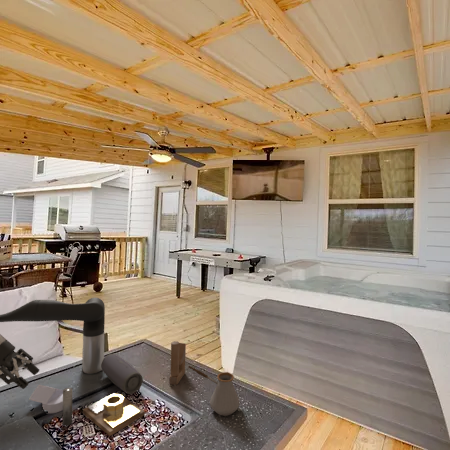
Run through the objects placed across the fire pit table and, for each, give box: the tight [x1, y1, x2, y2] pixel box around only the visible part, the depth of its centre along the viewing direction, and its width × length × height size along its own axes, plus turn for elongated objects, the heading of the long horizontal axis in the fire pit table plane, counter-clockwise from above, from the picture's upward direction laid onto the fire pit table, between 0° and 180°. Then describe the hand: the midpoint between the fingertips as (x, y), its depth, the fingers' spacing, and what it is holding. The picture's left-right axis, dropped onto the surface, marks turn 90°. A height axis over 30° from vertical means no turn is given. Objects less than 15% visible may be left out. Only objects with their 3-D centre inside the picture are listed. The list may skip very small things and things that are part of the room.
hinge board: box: [82, 392, 145, 437], centre depth 114 cm, size 18×14×2 cm
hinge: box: [86, 392, 140, 429], centre depth 114 cm, size 17×11×4 cm, turn 52°
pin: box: [62, 387, 73, 427], centre depth 108 cm, size 3×3×12 cm
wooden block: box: [168, 340, 187, 386], centre depth 139 cm, size 4×11×18 cm, turn 168°
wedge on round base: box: [28, 384, 64, 414], centre depth 118 cm, size 9×7×13 cm
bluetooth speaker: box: [101, 353, 144, 395], centre depth 133 cm, size 23×9×10 cm, turn 44°
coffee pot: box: [186, 365, 240, 417], centre depth 119 cm, size 21×12×15 cm, turn 77°
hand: (32, 379), depth 106 cm, fingers open, 8 cm apart
